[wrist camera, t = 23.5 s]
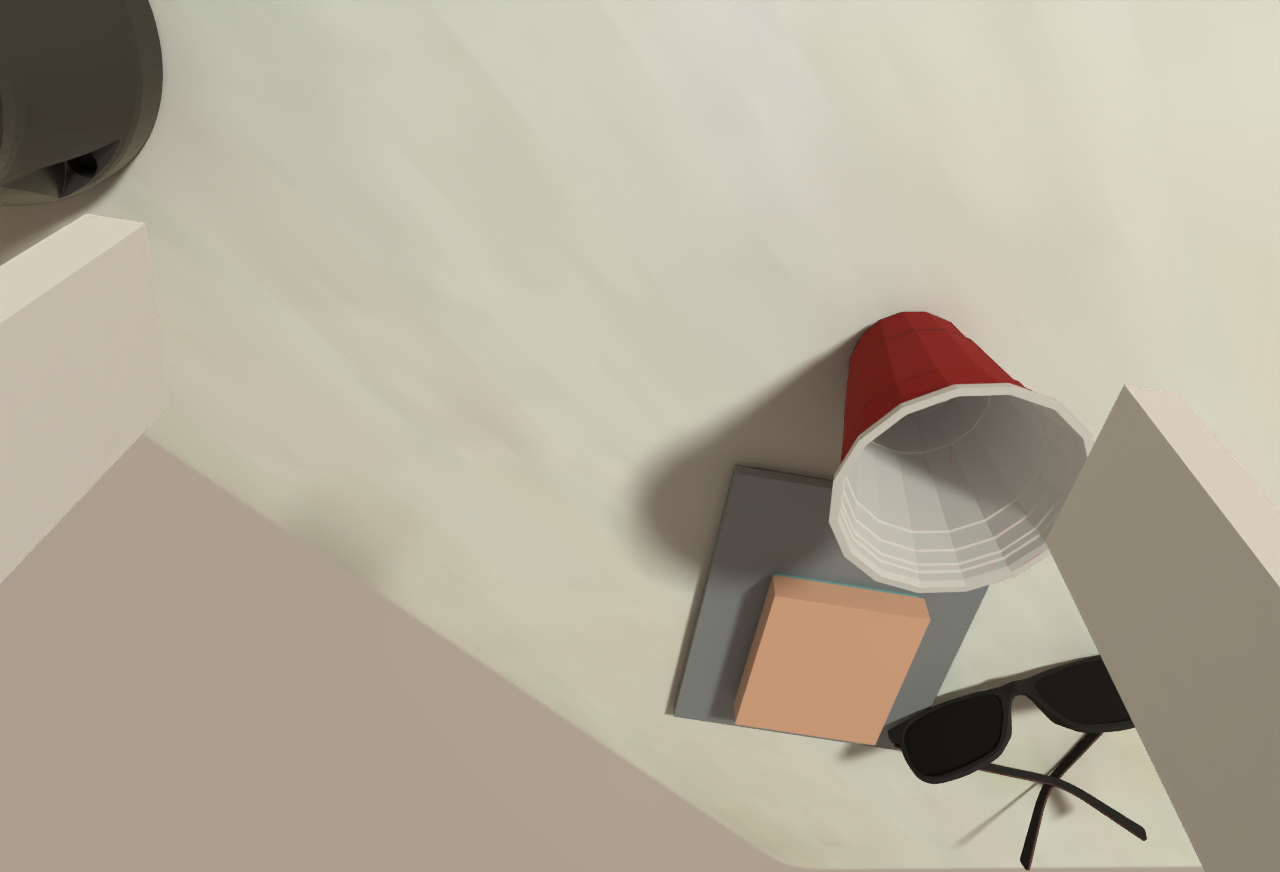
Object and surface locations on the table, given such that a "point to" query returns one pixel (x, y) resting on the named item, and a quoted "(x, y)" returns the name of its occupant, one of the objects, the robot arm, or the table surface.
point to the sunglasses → (983, 727)
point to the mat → (803, 547)
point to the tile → (829, 658)
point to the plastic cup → (947, 461)
